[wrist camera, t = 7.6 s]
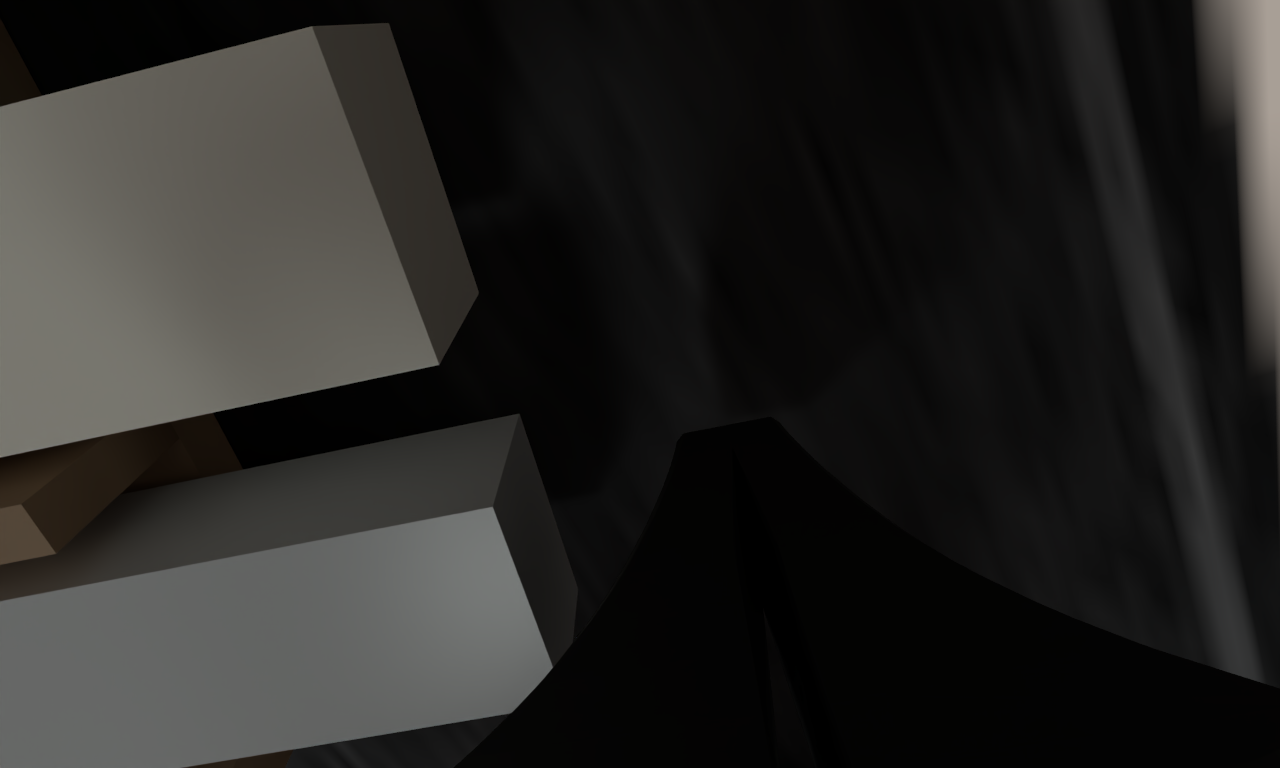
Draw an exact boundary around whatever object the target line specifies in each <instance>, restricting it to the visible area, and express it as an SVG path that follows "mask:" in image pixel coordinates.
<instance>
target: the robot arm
mask: <svg viewBox="0 0 1280 768" xmlns="http://www.w3.org/2000/svg"><path fill="white" fill-rule="evenodd" d="M763 608H764V611H765V614H766V618H767V621H768V624H769V627H770V630H771V633H772V636H773V639H774V642H775V645H776V648H777V651H778V654H779V658H780V661H781V664H782V667H783V670H784V673H785V676H786V679H787V682H788V685H789V688H790V691H791V694H792V697H793V700H794V703H795V706H796V709H797V712H798V715H799V719H800V722H801V725H802V728H803V731H804V734H805V737H806V740H807V743H808V746H809V749H810V752H811V756H812V759H813V763H814V766H815V768H1280V689H1279V688H1276V687H1273V686H1270V685H1267V684H1263V683H1260V682H1257V681H1254V680H1251V679H1248V678H1244V677H1241V676H1238V675H1235V674H1232V673H1229V672H1225V671H1222V670H1219V669H1216V668H1213V667H1210V666H1207V665H1203V664H1200V663H1197V662H1194V661H1191V660H1188V659H1184V658H1181V657H1178V656H1175V655H1172V654H1169V653H1165V652H1162V651H1159V650H1156V649H1153V648H1150V647H1148V646H1145V645H1142V644H1139V643H1137V642H1134V641H1131V640H1129V639H1126V638H1124V637H1121V636H1118V635H1116V634H1113V633H1111V632H1108V631H1105V630H1103V629H1100V628H1098V627H1095V626H1092V625H1090V624H1087V623H1085V622H1082V621H1079V620H1077V619H1074V618H1072V617H1070V616H1067V615H1065V614H1063V613H1060V612H1058V611H1056V610H1053V609H1051V608H1049V607H1046V606H1044V605H1042V604H1039V603H1037V602H1035V601H1033V600H1030V599H1028V598H1026V597H1024V596H1022V595H1020V594H1018V593H1016V592H1014V591H1012V590H1010V589H1008V588H1005V587H1003V586H1001V585H999V584H997V583H995V582H993V581H991V580H989V579H987V578H985V577H983V576H981V575H979V574H977V573H975V572H973V571H971V570H969V569H967V568H965V567H964V566H962V565H960V564H958V563H956V562H954V561H952V560H951V559H949V558H947V557H946V556H944V555H942V554H941V553H939V552H937V551H936V550H934V549H932V548H931V547H929V546H927V545H925V544H924V543H922V542H921V541H919V540H918V539H916V538H915V537H913V536H911V535H910V534H908V533H907V532H906V531H904V530H903V529H901V528H900V527H898V526H897V525H895V524H894V523H892V522H891V521H890V520H888V519H887V518H886V517H884V516H883V515H882V514H880V513H879V512H877V511H876V510H875V509H873V508H872V507H871V506H869V505H868V504H867V503H865V502H864V501H863V500H862V499H860V498H859V497H858V496H856V495H855V494H854V493H853V492H851V491H850V490H849V489H848V488H847V487H846V486H844V485H843V484H842V483H841V482H840V481H839V480H837V479H836V478H835V477H834V476H833V475H831V474H830V473H829V472H828V471H827V470H826V469H825V468H823V467H822V466H821V465H820V464H819V463H818V462H817V461H816V460H815V459H814V458H813V457H812V456H811V455H810V454H808V453H807V452H806V451H805V450H804V449H803V448H802V447H801V446H800V445H799V444H798V443H797V442H796V441H795V440H794V438H793V437H792V436H791V435H790V434H789V433H788V432H787V431H786V430H785V429H784V427H783V426H782V425H781V424H780V423H779V422H778V421H776V420H775V419H773V418H772V417H767V418H762V419H757V420H752V421H746V422H741V423H736V424H731V425H726V426H720V427H715V428H710V429H705V430H700V431H694V432H689V433H684V434H683V435H682V436H681V438H680V439H679V440H678V442H677V445H676V450H675V453H674V457H673V460H672V464H671V467H670V470H669V472H668V475H667V478H666V481H665V483H664V486H663V488H662V491H661V493H660V495H659V498H658V500H657V502H656V505H655V507H654V509H653V511H652V514H651V516H650V518H649V521H648V523H647V525H646V527H645V529H644V531H643V533H642V535H641V536H640V538H639V540H638V542H637V544H636V546H635V548H634V550H633V551H632V553H631V555H630V557H629V559H628V561H627V563H626V564H625V566H624V568H623V570H622V571H621V573H620V575H619V576H618V578H617V580H616V581H615V583H614V585H613V586H612V588H611V589H610V591H609V593H608V594H607V596H606V597H605V599H604V600H603V602H602V603H601V605H600V606H599V607H598V609H597V610H596V612H595V613H594V615H593V616H592V618H591V619H590V621H589V622H588V623H587V625H586V626H585V627H584V629H583V630H582V631H581V633H580V634H579V635H578V636H577V638H576V639H575V640H574V642H573V643H572V644H571V645H570V647H569V648H568V649H567V651H566V652H565V653H564V654H563V656H562V657H561V658H560V660H559V661H558V662H557V663H556V665H555V666H554V667H553V668H552V669H551V670H550V672H549V673H548V674H547V675H546V676H545V678H544V679H543V680H542V681H541V682H540V683H539V684H538V686H537V687H536V688H535V689H534V690H533V691H532V692H531V693H530V694H529V695H528V696H527V697H526V698H525V699H524V700H523V701H522V703H521V704H520V705H519V706H518V707H517V708H516V709H515V710H514V711H513V712H512V713H511V714H510V715H509V716H508V717H507V718H506V719H505V720H504V721H503V722H502V723H501V724H500V725H499V726H498V727H497V728H496V729H495V730H494V731H493V732H492V733H491V734H490V735H489V736H488V737H487V738H486V739H485V740H484V741H482V742H481V743H480V744H479V745H478V746H477V747H476V748H475V749H474V750H473V751H472V752H471V753H470V754H469V755H467V756H466V757H465V758H464V759H463V760H462V761H461V762H460V763H458V764H457V765H456V766H455V767H454V768H780V765H779V758H778V750H777V740H776V730H775V720H774V711H773V701H772V691H771V681H770V672H769V662H768V652H767V643H766V633H765V623H764V614H763Z"/></svg>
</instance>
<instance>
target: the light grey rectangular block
mask: <svg viewBox="0 0 1280 768" xmlns="http://www.w3.org/2000/svg"><path fill="white" fill-rule="evenodd" d="M577 594H578V587H577V584H576V581H575V578H574V575H573V572H572V569H571V566H570V563H569V560H568V557H567V554H566V551H565V548H564V545H563V542H562V539H561V536H560V533H559V530H558V527H557V524H556V521H555V518H554V515H553V512H552V509H551V506H550V503H549V500H548V497H547V494H546V491H545V488H544V485H543V482H542V479H541V476H540V474H539V471H538V468H537V465H536V462H535V459H534V456H533V453H532V450H531V447H530V444H529V441H528V438H527V435H526V432H525V429H524V426H523V423H522V420H521V417H520V414H515V415H510V416H505V417H500V418H495V419H490V420H485V421H480V422H475V423H470V424H465V425H460V426H456V427H451V428H446V429H441V430H436V431H431V432H426V433H421V434H416V435H411V436H406V437H401V438H396V439H391V440H387V441H382V442H377V443H372V444H367V445H362V446H357V447H352V448H347V449H342V450H337V451H332V452H327V453H322V454H318V455H313V456H308V457H303V458H298V459H293V460H288V461H283V462H278V463H273V464H268V465H263V466H258V467H253V468H249V469H244V470H239V471H234V472H229V473H224V474H219V475H214V476H209V477H204V478H199V479H194V480H189V481H184V482H180V483H175V484H170V485H165V486H160V487H155V488H150V489H145V490H140V491H135V492H130V493H125V494H120V495H119V496H118V497H116V498H115V499H114V500H113V501H112V502H111V503H110V504H109V505H108V506H107V507H106V508H105V509H104V510H103V511H102V512H100V513H99V514H98V515H97V516H96V517H95V518H94V519H93V520H92V521H91V522H90V523H89V524H88V525H87V526H85V527H84V528H83V529H82V530H81V531H80V532H79V533H78V534H77V535H76V536H75V537H74V538H73V539H72V540H71V541H69V542H68V543H67V544H66V545H65V546H64V547H63V548H62V549H61V550H60V551H59V552H58V553H57V554H53V555H48V556H43V557H38V558H33V559H28V560H22V561H17V562H12V563H7V564H2V565H0V768H183V767H189V766H195V765H202V764H208V763H214V762H220V761H226V760H232V759H238V758H244V757H250V756H256V755H262V754H268V753H274V752H280V751H286V750H292V749H298V748H304V747H310V746H316V745H322V744H328V743H334V742H340V741H346V740H352V739H358V738H365V737H371V736H377V735H383V734H389V733H395V732H401V731H407V730H413V729H419V728H425V727H431V726H437V725H443V724H449V723H455V722H461V721H467V720H473V719H479V718H485V717H491V716H497V715H503V714H509V713H512V712H513V711H514V710H515V709H516V708H517V707H518V706H519V705H520V704H521V703H522V701H523V700H524V699H525V698H526V697H527V696H528V695H529V694H530V693H531V692H532V691H533V690H534V689H535V688H536V687H537V686H538V684H539V683H540V682H541V681H542V680H543V679H544V678H545V676H546V675H547V674H548V673H549V672H550V670H551V669H552V668H553V667H554V666H555V665H556V663H557V662H558V661H559V660H560V658H561V657H562V656H563V654H564V653H565V652H566V651H567V649H568V648H569V647H570V645H571V644H572V643H573V635H574V625H575V615H576V605H577Z"/></svg>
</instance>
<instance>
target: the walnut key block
mask: <svg viewBox="0 0 1280 768" xmlns="http://www.w3.org/2000/svg"><path fill="white" fill-rule="evenodd" d="M40 96H42V95H41V93H40V91H39V89H38V87H37V86H36V84H35V82H34V80H33V78H32V76H31V74H30V73H29V71H28V69H27V67H26V65H25V63H24V61H23V60H22V58H21V56H20V54H19V52H18V50H17V48H16V47H15V45H14V43H13V41H12V39H11V37H10V35H9V34H8V32H7V30H6V28H5V26H4V24H3V22H2V21H1V19H0V107H1V106H5V105H9V104H13V103H17V102H20V101H24V100H28V99H32V98H36V97H40ZM239 470H243V468H242V466H241V464H240V462H239V460H238V459H237V457H236V455H235V453H234V451H233V449H232V447H231V446H230V444H229V442H228V440H227V438H226V436H225V434H224V433H223V431H222V429H221V427H220V425H219V423H218V421H217V420H216V418H215V416H214V414H213V413H209V414H204V415H200V416H195V417H190V418H185V419H181V420H176V421H171V422H166V423H162V424H157V425H152V426H147V427H143V428H138V429H133V430H128V431H124V432H119V433H114V434H110V435H105V436H100V437H95V438H91V439H86V440H81V441H76V442H72V443H67V444H62V445H57V446H53V447H48V448H43V449H38V450H34V451H29V452H24V453H20V454H15V455H10V456H5V457H1V458H0V565H2V564H7V563H12V562H17V561H22V560H28V559H33V558H38V557H43V556H48V555H53V554H57V553H58V552H59V551H60V550H61V549H62V548H63V547H64V546H65V545H66V544H67V543H68V542H69V541H71V540H72V539H73V538H74V537H75V536H76V535H77V534H78V533H79V532H80V531H81V530H82V529H83V528H84V527H85V526H87V525H88V524H89V523H90V522H91V521H92V520H93V519H94V518H95V517H96V516H97V515H98V514H99V513H100V512H102V511H103V510H104V509H105V508H106V507H107V506H108V505H109V504H110V503H111V502H112V501H113V500H114V499H115V498H116V497H118V496H119V495H120V494H125V493H130V492H135V491H140V490H145V489H150V488H155V487H160V486H165V485H170V484H175V483H180V482H184V481H189V480H194V479H199V478H204V477H209V476H214V475H219V474H224V473H229V472H234V471H239ZM292 751H293V749H292V750H286V751H280V752H274V753H268V754H262V755H256V756H250V757H244V758H238V759H232V760H226V761H220V762H214V763H208V764H202V765H195V766H189V767H183V768H285V766H286V764H287V762H288V760H289V758H290V755H291V753H292Z"/></svg>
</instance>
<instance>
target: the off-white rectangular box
mask: <svg viewBox="0 0 1280 768" xmlns="http://www.w3.org/2000/svg"><path fill="white" fill-rule="evenodd" d="M478 294H479V291H478V288H477V285H476V282H475V279H474V276H473V273H472V270H471V267H470V264H469V261H468V258H467V255H466V252H465V249H464V246H463V243H462V240H461V237H460V235H459V232H458V229H457V226H456V223H455V220H454V217H453V214H452V211H451V208H450V205H449V202H448V199H447V196H446V193H445V190H444V187H443V184H442V181H441V178H440V175H439V172H438V169H437V166H436V163H435V160H434V157H433V154H432V151H431V148H430V145H429V142H428V139H427V136H426V133H425V130H424V127H423V124H422V121H421V118H420V115H419V112H418V109H417V106H416V103H415V100H414V97H413V94H412V91H411V88H410V85H409V82H408V79H407V76H406V73H405V70H404V67H403V64H402V61H401V58H400V55H399V52H398V49H397V46H396V43H395V40H394V37H393V34H392V31H391V28H390V25H389V23H377V24H353V25H330V26H311V27H307V28H303V29H299V30H296V31H292V32H288V33H284V34H280V35H276V36H272V37H268V38H265V39H261V40H257V41H253V42H249V43H245V44H241V45H237V46H234V47H230V48H226V49H222V50H218V51H214V52H210V53H206V54H203V55H199V56H195V57H191V58H187V59H183V60H179V61H175V62H172V63H168V64H164V65H160V66H156V67H152V68H148V69H144V70H141V71H137V72H133V73H129V74H125V75H121V76H117V77H113V78H110V79H106V80H102V81H98V82H94V83H90V84H86V85H82V86H79V87H75V88H71V89H67V90H63V91H59V92H55V93H51V94H48V95H44V96H40V97H36V98H32V99H28V100H24V101H20V102H17V103H13V104H9V105H5V106H1V107H0V458H1V457H5V456H10V455H15V454H20V453H24V452H29V451H34V450H38V449H43V448H48V447H53V446H57V445H62V444H67V443H72V442H76V441H81V440H86V439H91V438H95V437H100V436H105V435H110V434H114V433H119V432H124V431H128V430H133V429H138V428H143V427H147V426H152V425H157V424H162V423H166V422H171V421H176V420H181V419H185V418H190V417H195V416H200V415H204V414H209V413H214V412H218V411H223V410H228V409H233V408H237V407H242V406H247V405H252V404H256V403H261V402H266V401H271V400H275V399H280V398H285V397H290V396H294V395H299V394H304V393H308V392H313V391H318V390H323V389H327V388H332V387H337V386H342V385H346V384H351V383H356V382H361V381H365V380H370V379H375V378H380V377H384V376H389V375H394V374H398V373H403V372H408V371H413V370H417V369H422V368H427V367H432V366H436V365H439V364H440V363H441V361H442V359H443V357H444V355H445V354H446V352H447V350H448V348H449V346H450V345H451V343H452V341H453V339H454V337H455V336H456V334H457V332H458V330H459V328H460V327H461V325H462V323H463V321H464V319H465V318H466V316H467V314H468V312H469V310H470V309H471V307H472V305H473V303H474V301H475V299H476V298H477V296H478Z"/></svg>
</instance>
